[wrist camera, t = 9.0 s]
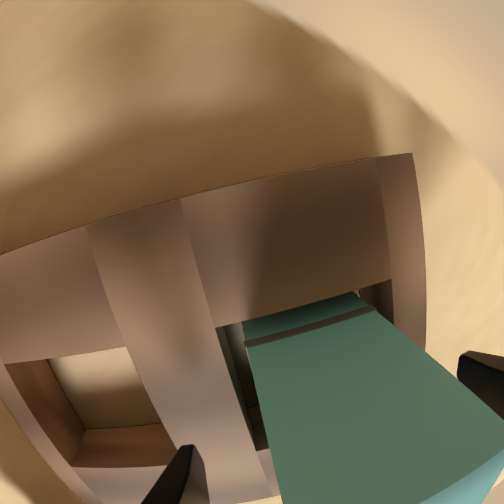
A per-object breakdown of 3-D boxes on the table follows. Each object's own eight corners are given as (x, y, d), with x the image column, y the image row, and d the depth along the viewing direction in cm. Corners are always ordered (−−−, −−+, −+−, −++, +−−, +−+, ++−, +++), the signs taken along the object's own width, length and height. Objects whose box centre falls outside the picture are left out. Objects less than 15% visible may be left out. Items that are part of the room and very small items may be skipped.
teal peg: (351, 366, 14) (466, 525, 4) (260, 393, 14) (313, 592, 4) (341, 281, 13) (522, 431, 3) (237, 308, 13) (291, 548, 3)
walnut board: (389, 415, 15) (413, 447, 12) (98, 473, 14) (88, 508, 11) (371, 157, 12) (411, 152, 9) (-14, 260, 11) (-53, 276, 8)
